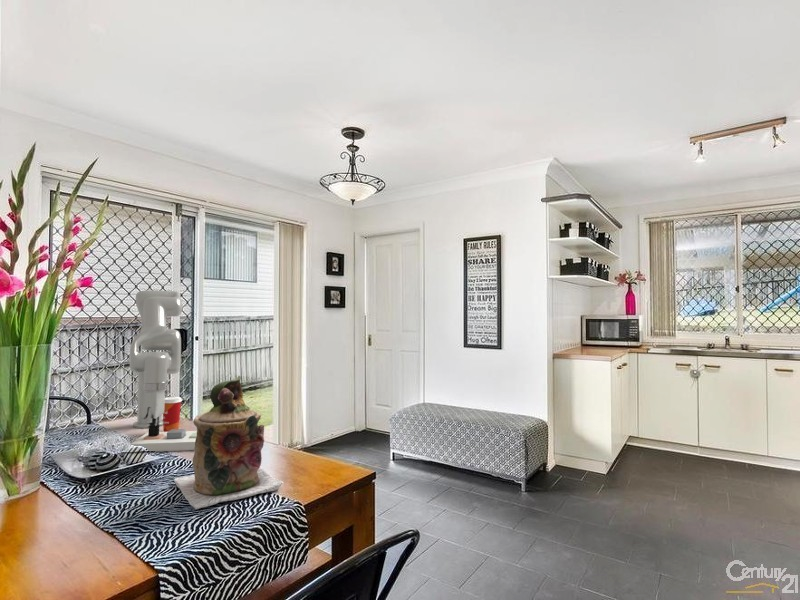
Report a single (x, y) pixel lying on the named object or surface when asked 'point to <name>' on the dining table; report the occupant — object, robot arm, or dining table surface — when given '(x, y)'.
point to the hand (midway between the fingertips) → (153, 435)
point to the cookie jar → (227, 451)
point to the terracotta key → (153, 437)
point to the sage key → (193, 435)
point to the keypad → (167, 443)
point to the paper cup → (171, 413)
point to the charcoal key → (176, 433)
